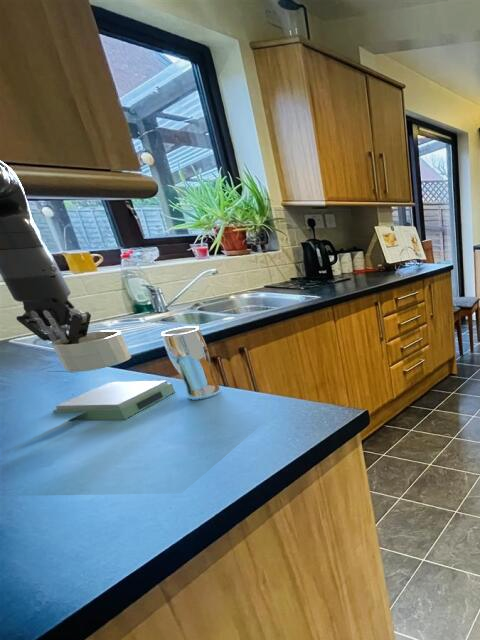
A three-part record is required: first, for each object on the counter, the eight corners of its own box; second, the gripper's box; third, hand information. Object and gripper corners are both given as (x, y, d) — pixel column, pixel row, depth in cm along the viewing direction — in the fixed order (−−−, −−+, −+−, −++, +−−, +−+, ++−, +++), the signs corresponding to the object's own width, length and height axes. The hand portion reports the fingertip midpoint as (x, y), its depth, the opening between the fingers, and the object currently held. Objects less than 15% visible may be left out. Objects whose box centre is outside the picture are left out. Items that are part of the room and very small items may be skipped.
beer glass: (199, 402, 87) (173, 336, 81) (178, 398, 89) (151, 334, 83) (229, 389, 93) (207, 327, 87) (209, 386, 95) (186, 325, 89)
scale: (58, 421, 81) (50, 407, 80) (116, 393, 93) (110, 380, 92) (125, 419, 81) (119, 405, 79) (176, 392, 93) (171, 379, 91)
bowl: (50, 372, 78) (36, 346, 76) (99, 355, 88) (88, 330, 85) (100, 371, 78) (86, 344, 76) (144, 353, 87) (133, 329, 85)
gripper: (-28, 277, 72) (24, 366, 79) (44, 275, 72) (89, 365, 79) (20, 271, 79) (63, 353, 86) (85, 269, 79) (123, 352, 86)
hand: (75, 358), depth 82 cm, fingers closed on bowl, 1 cm apart
